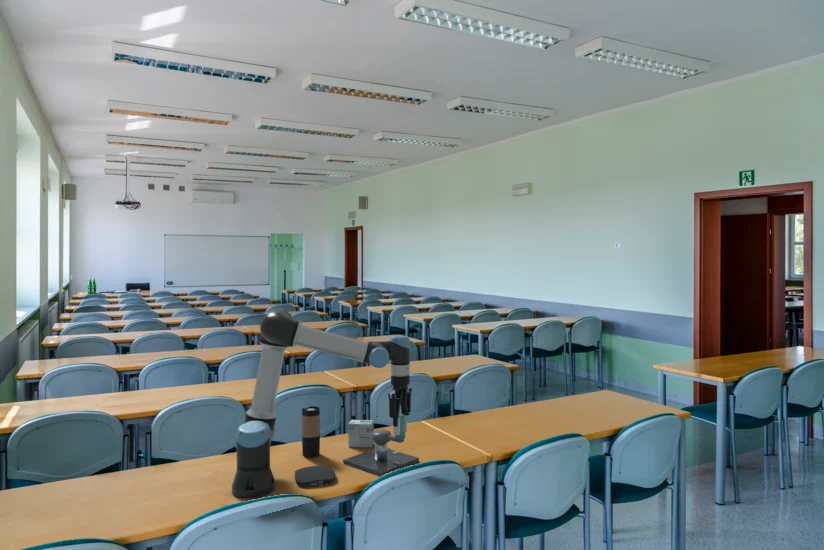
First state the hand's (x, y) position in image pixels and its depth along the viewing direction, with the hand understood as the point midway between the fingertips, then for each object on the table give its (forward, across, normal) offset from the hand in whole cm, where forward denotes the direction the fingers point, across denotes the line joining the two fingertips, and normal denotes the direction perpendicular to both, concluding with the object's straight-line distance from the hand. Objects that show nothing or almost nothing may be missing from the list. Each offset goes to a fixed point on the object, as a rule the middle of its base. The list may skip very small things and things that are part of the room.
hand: (400, 432), depth 224 cm
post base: (+14, +1, +10) cm, 17 cm away
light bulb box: (+14, +13, +31) cm, 36 cm away
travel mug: (+14, -9, +40) cm, 44 cm away
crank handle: (+5, 0, +6) cm, 8 cm away
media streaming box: (+15, -27, +20) cm, 37 cm away
